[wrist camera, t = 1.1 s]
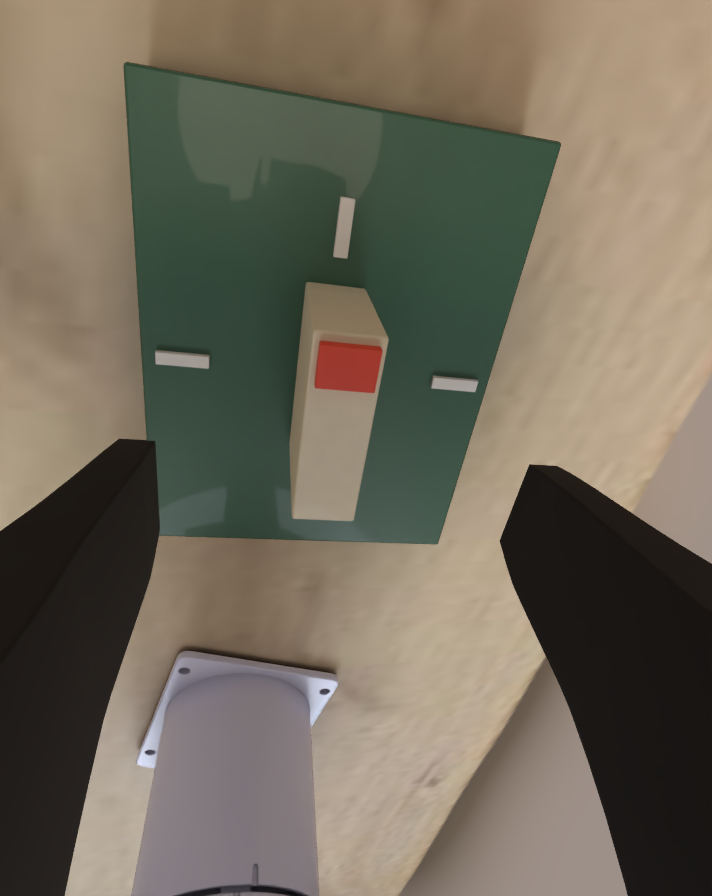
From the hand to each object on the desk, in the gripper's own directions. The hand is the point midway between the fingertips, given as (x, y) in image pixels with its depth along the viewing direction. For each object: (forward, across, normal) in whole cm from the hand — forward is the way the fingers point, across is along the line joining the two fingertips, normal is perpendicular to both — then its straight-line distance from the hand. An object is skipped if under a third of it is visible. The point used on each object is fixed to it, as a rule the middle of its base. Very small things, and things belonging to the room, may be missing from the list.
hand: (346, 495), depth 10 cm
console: (+8, 0, 0) cm, 8 cm away
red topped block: (+6, 0, 0) cm, 6 cm away
